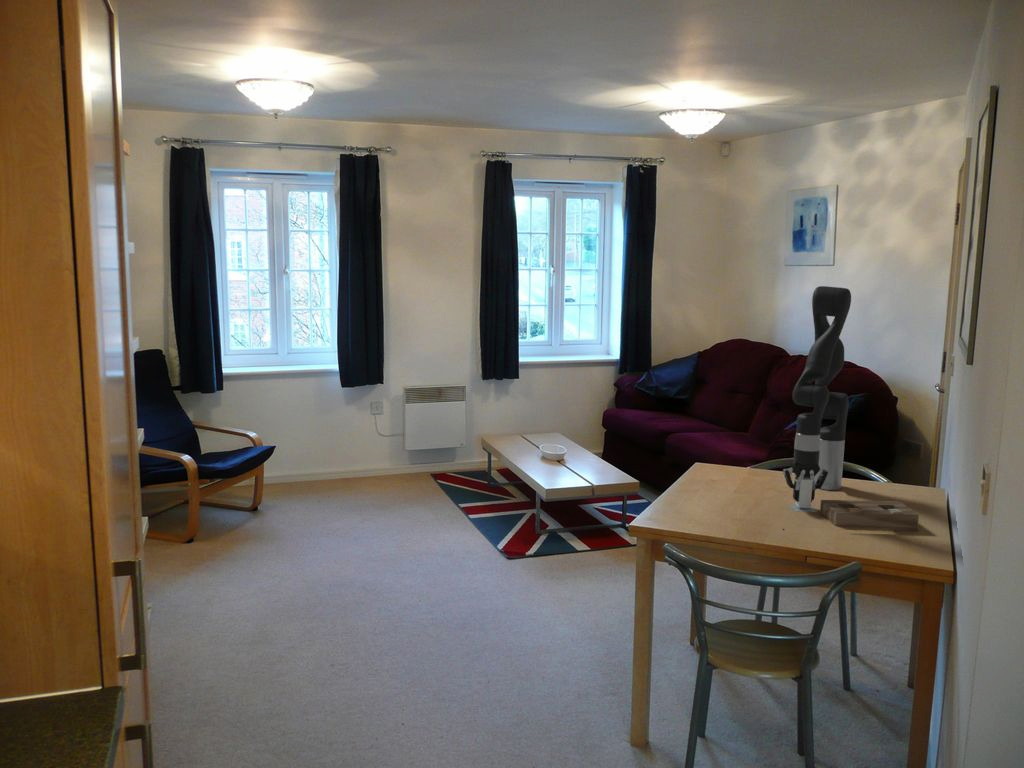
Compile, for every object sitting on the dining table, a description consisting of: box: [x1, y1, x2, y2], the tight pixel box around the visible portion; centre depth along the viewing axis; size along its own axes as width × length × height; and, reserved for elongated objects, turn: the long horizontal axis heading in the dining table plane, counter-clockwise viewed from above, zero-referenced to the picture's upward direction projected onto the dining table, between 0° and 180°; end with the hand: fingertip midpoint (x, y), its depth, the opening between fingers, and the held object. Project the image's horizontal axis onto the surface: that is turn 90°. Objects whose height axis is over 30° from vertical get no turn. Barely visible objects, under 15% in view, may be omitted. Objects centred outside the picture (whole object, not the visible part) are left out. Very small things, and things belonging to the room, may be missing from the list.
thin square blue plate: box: [788, 504, 819, 513], centre depth 266 cm, size 7×7×1 cm
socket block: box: [819, 499, 920, 532], centre depth 255 cm, size 13×24×5 cm, turn 89°
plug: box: [794, 477, 813, 508], centre depth 265 cm, size 4×4×10 cm
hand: (803, 500), depth 266 cm, fingers closed on plug, 3 cm apart
